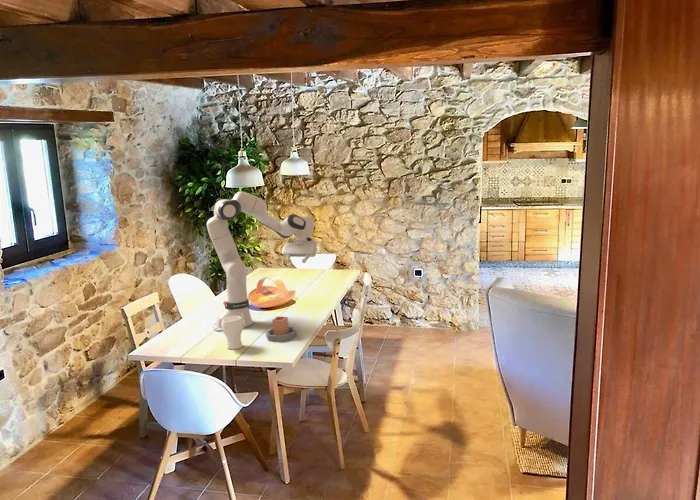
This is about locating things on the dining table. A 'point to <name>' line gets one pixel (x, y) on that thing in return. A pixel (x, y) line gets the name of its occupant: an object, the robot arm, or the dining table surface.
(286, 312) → the dining table surface
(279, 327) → the pot
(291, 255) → the robot arm
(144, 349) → the dining table surface
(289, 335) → the dish
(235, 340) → the cup
